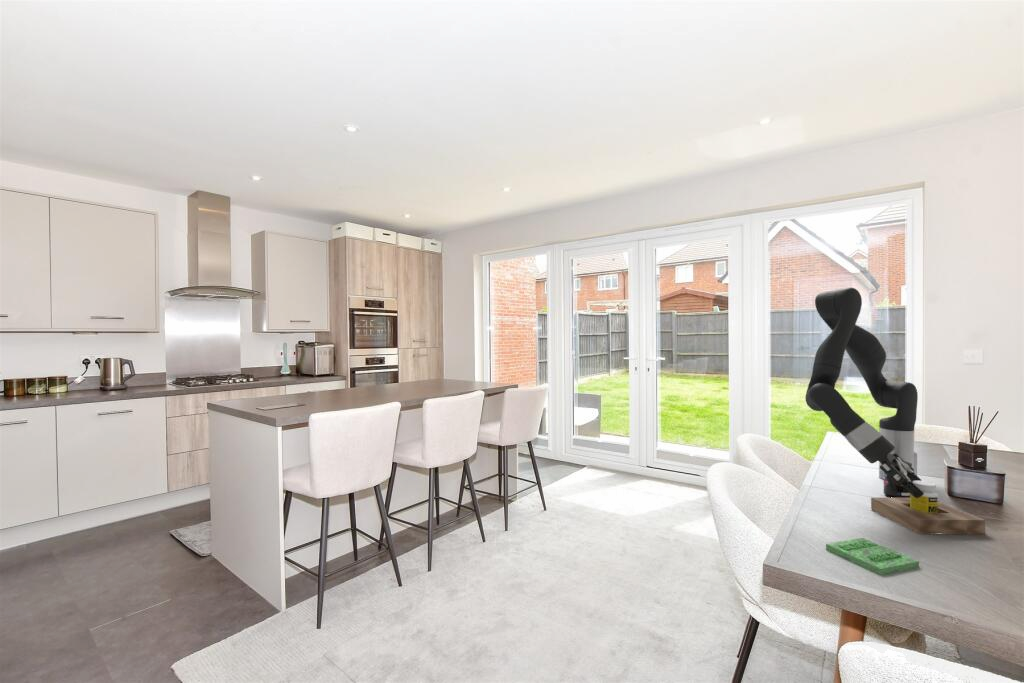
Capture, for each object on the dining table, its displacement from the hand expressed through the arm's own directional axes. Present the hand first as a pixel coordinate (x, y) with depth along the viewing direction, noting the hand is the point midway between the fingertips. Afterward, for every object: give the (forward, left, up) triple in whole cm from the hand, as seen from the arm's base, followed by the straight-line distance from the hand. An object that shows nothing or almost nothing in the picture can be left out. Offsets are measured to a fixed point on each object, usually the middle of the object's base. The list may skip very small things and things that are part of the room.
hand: (922, 492), depth 124 cm
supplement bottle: (0, 0, -7) cm, 7 cm away
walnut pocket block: (0, 0, -7) cm, 8 cm away
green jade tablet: (+29, +21, -8) cm, 37 cm away
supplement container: (-8, -19, -8) cm, 22 cm away
